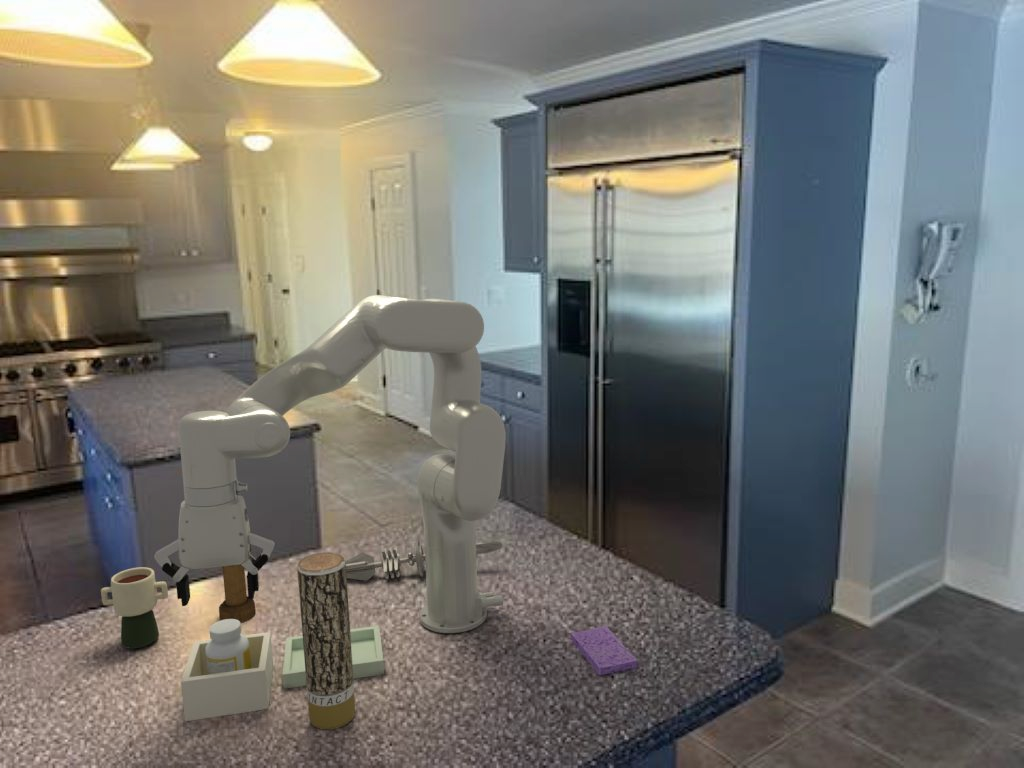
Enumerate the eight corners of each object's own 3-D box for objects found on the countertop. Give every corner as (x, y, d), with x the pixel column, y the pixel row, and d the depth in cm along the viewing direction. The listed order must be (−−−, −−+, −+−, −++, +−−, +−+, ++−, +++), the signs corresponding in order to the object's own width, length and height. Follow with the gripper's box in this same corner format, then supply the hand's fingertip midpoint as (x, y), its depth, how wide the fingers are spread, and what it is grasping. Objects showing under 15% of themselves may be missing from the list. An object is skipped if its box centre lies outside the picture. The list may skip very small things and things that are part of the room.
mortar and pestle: (243, 625, 145) (235, 534, 142) (212, 622, 146) (203, 532, 143) (262, 608, 151) (254, 521, 148) (232, 606, 153) (223, 519, 149)
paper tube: (313, 706, 119) (301, 553, 115) (358, 702, 120) (348, 551, 115) (305, 733, 113) (292, 573, 108) (353, 730, 113) (342, 570, 109)
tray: (379, 638, 139) (378, 625, 139) (384, 674, 128) (383, 660, 127) (287, 650, 136) (286, 637, 135) (283, 688, 124) (282, 674, 124)
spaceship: (502, 544, 160) (498, 518, 167) (333, 571, 157) (334, 544, 164) (506, 571, 164) (501, 544, 171) (340, 598, 162) (342, 570, 168)
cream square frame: (273, 667, 130) (270, 631, 129) (268, 708, 119) (264, 670, 118) (198, 677, 128) (194, 641, 127) (185, 721, 116) (180, 681, 115)
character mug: (177, 629, 144) (169, 563, 142) (168, 648, 137) (160, 580, 135) (113, 636, 142) (105, 570, 139) (102, 656, 135) (92, 587, 133)
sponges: (599, 678, 126) (599, 667, 126) (570, 640, 138) (570, 631, 137) (638, 670, 128) (638, 659, 128) (606, 634, 140) (606, 624, 140)
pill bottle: (247, 677, 128) (241, 611, 126) (258, 695, 122) (251, 628, 120) (206, 690, 124) (198, 623, 122) (215, 710, 119) (208, 640, 117)
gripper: (272, 481, 122) (278, 583, 126) (154, 489, 119) (164, 594, 122) (269, 496, 115) (275, 603, 118) (143, 505, 111) (154, 616, 114)
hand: (219, 598), depth 120 cm, fingers open, 9 cm apart
